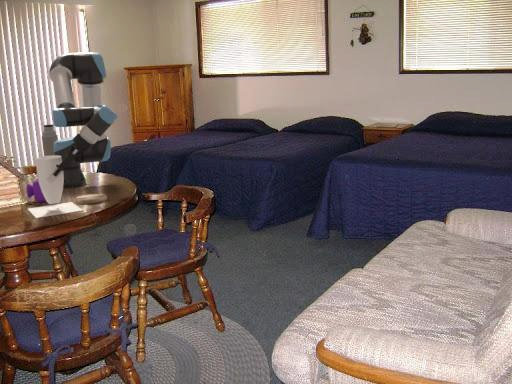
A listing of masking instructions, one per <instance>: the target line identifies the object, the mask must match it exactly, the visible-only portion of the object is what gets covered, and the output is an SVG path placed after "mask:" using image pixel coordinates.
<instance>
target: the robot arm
mask: <svg viewBox="0 0 512 384" xmlns="http://www.w3.org/2000/svg"><path fill="white" fill-rule="evenodd" d="M48 72H49V74H48V75H49V79H50V80H51V82H52V86H53V93H54V99H55V107H56V108H54V109H52V110H51V112H52V119H53V120H52V121H53V127H56V128H68V127H80V126H81V127H82V128H81V129H80V130H79V133H77V134H76V135H75V136H71V137H65V138H61V139H58V140H57V141H55V142H54V153H55V155H57V156H61V158H62V162H61V164H60V165H56V167H57V168H56V169H55V170H54V171H53V172H52V173H51V174H50V175H49V177H48V178H47V179H46V180H47V181H49V182H50V183H51V184H52V183H53V182H54V181H55V180H56V178H57V177H58V176H59V175H60V174H61V173H62V172H63V174H64V183H63V189H70V188H71V189H72V188H78V187H82V186H85V185H86V184H87V180H86V177H85V175H84V173H83V169H82V165H81V164H86V163H101V162H106V161H109V159H110V158H111V151H112V149H111V148H112V147H111V144H112V143H111V138H110V137H108V135H107V133H106V131H108V129H110V127H111V126H112V125H113V124H114V123H115V121H116V120H117V119H118V114H117V113H116V112H115V111H114V110H113V109H112V108H110V106H108V105H107V104H102V92H101V85H102V84H103V83H104V79H105V78H107V71H106V66H105V63H104V58H103V56H102V54H101V53H100V52H92V51H91V52H67V53H62V54H61V55H59V56H57V57H56V58H55V59H54V60H53V61H52V63H51V65H50V66H49V71H48ZM72 80H77V83H78V84H79V85H80V86H81V94H82V95H81V96H82V98H81V99H82V107H81V106H80V107H76V102H75V97H74V91H73V87H72Z"/></svg>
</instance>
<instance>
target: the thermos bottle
mask: <svg viewBox="0 0 512 384" xmlns="http://www.w3.org/2000/svg"><path fill="white" fill-rule="evenodd" d="M57 140H59V137H58V134H57V130H55V129H54V124H43V131H42V135H41V143H42V150H43V151H42V152H43V156H53V155H55V153H54V142H55V141H57Z"/></svg>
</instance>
